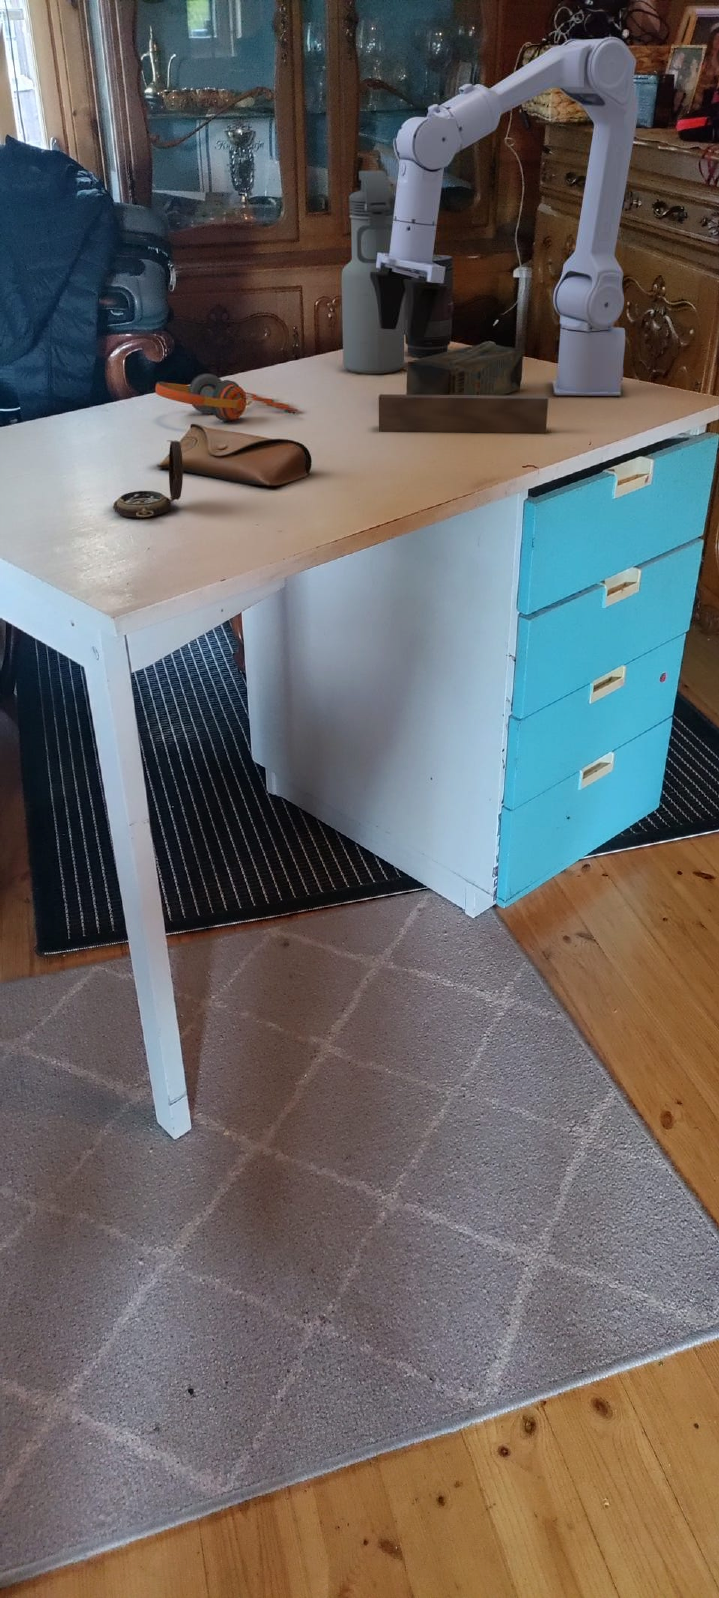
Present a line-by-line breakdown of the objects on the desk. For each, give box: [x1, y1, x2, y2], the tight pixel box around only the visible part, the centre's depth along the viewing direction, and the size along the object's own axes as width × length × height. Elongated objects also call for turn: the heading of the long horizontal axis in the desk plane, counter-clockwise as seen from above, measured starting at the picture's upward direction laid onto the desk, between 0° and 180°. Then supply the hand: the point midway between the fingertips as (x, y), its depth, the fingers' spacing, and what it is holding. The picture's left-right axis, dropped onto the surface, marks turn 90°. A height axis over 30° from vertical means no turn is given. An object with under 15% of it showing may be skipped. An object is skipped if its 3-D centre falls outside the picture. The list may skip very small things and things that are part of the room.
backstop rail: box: [378, 393, 549, 434], centre depth 156 cm, size 22×2×4 cm, turn 84°
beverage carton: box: [405, 340, 524, 396], centre depth 170 cm, size 8×19×7 cm, turn 140°
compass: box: [112, 439, 184, 518], centre depth 128 cm, size 8×8×7 cm
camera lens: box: [403, 254, 454, 358], centre depth 196 cm, size 8×8×15 cm
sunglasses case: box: [156, 423, 313, 487], centre depth 142 cm, size 18×7×7 cm
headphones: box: [155, 373, 299, 422], centre depth 165 cm, size 17×5×20 cm
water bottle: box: [341, 169, 405, 375], centre depth 183 cm, size 10×10×28 cm
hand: (401, 333), depth 161 cm, fingers open, 7 cm apart
